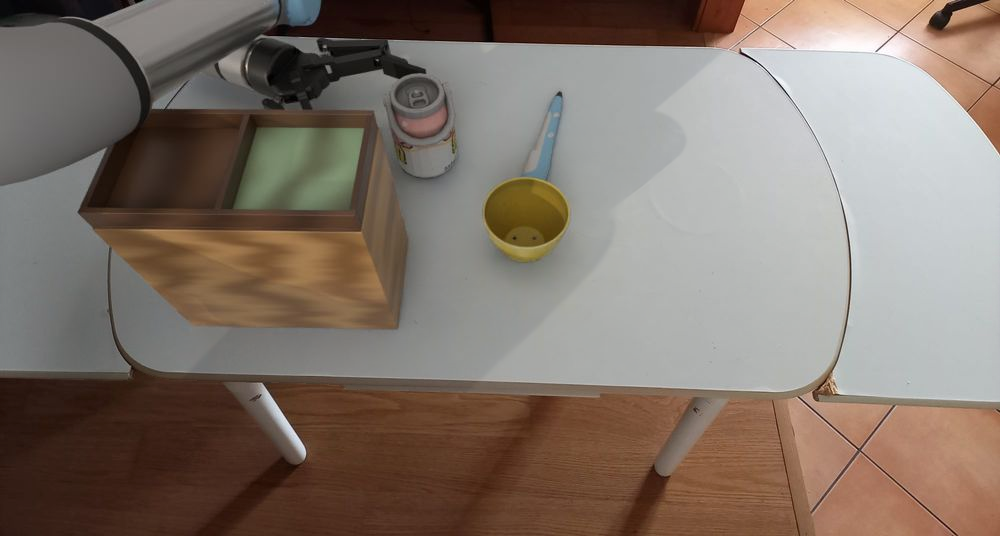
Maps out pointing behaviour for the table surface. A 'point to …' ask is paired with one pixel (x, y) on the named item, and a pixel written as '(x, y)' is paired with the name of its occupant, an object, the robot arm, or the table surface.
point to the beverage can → (422, 124)
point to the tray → (237, 171)
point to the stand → (281, 268)
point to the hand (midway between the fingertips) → (400, 113)
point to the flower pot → (526, 217)
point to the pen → (544, 143)
